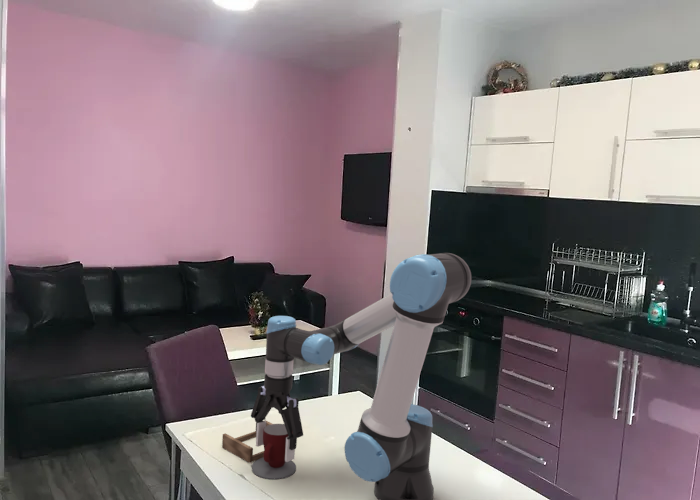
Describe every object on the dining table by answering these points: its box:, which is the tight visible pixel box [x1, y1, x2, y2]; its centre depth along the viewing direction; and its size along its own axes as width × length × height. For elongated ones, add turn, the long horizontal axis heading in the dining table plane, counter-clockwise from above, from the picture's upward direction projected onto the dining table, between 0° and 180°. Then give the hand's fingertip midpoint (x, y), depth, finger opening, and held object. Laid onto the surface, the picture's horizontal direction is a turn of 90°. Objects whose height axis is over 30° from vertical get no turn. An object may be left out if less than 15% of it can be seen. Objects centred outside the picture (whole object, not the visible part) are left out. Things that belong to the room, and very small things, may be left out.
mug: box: [263, 423, 293, 468], centre depth 155 cm, size 11×8×10 cm
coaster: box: [251, 457, 297, 481], centre depth 156 cm, size 12×12×1 cm
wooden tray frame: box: [221, 419, 273, 464], centre depth 168 cm, size 13×16×4 cm
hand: (274, 452), depth 155 cm, fingers open, 11 cm apart
